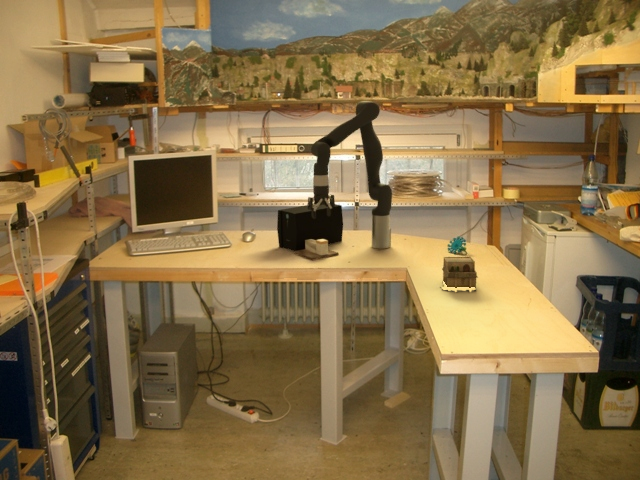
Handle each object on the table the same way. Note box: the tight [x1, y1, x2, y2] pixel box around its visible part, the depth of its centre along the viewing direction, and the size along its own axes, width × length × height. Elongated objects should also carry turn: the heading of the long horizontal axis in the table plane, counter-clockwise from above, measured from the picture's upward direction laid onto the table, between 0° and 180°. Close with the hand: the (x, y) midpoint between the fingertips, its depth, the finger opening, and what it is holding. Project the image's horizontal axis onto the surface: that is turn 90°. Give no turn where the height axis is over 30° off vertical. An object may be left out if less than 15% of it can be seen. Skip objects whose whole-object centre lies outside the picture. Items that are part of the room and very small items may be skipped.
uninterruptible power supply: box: [276, 203, 344, 252], centre depth 324 cm, size 16×34×20 cm, turn 131°
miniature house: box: [441, 256, 479, 289], centre depth 251 cm, size 15×14×11 cm
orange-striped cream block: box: [316, 239, 329, 255], centre depth 301 cm, size 4×5×7 cm
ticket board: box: [293, 239, 339, 261], centre depth 305 cm, size 16×16×6 cm
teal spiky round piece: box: [447, 236, 468, 255], centre depth 305 cm, size 11×6×10 cm
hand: (321, 217), depth 297 cm, fingers open, 8 cm apart
